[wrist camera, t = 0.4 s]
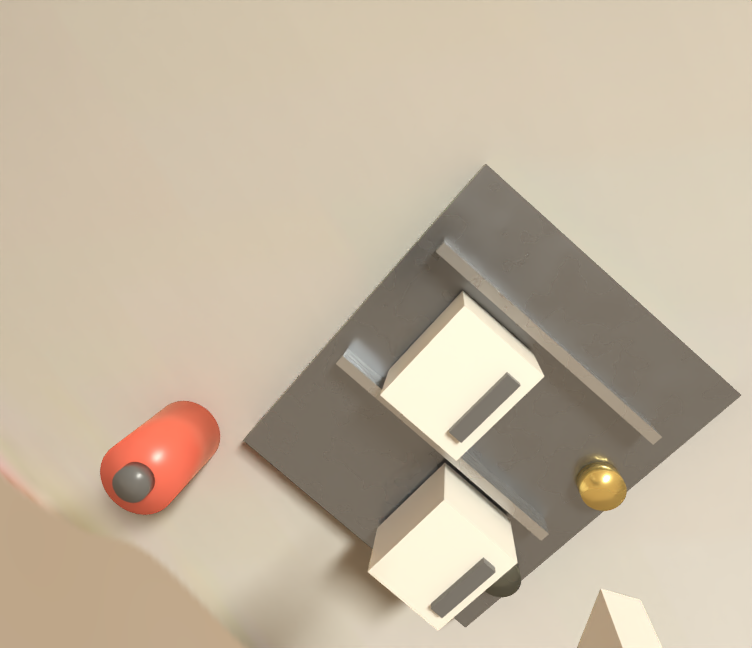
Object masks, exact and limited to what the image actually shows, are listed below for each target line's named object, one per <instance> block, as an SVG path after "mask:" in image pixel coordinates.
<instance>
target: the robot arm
mask: <svg viewBox="0 0 752 648" xmlns="http://www.w3.org/2000/svg"><path fill="white" fill-rule="evenodd" d="M577 648H662V646H661V643H660V641H659V639H658V637H657V635H656V633H655V630H654V628H653V626H652V624H651V622H650V619H649V617H648V615H647V613H646V611H645V609H644V606H643V604H642V602H641V600H639V599H636V598H632V597H629V596H625V595H622V594H618V593H615V592H611V591H608V590H604V589H600V591H599V594H598V596H597V599H596V601H595V604H594V607H593V609H592V612H591V614H590V617H589V619H588V622H587V624H586V627H585V629H584V632H583V634H582V637H581V639H580V642H579V644H578V647H577Z"/></svg>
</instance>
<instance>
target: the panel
mask: <svg viewBox="0 0 752 648" xmlns="http://www.w3.org/2000/svg"><path fill="white" fill-rule="evenodd" d="M462 291H464V292H465V293H466V294H467V295H468V296H470V297H471V298H472V299H473V300H474V301H475V302H476V303H478V304H479V305H480V306H481V307H482V308H483V309H484V310H485V311H487V312H488V313H489V314H490V315H491V316H492V317H493V318H494V319H496V320H497V321H498V322H499V323H500V324H501V325H502V326H503V327H505V328H506V329H507V330H508V331H509V332H510V333H511V334H513V335H514V336H515V337H516V338H517V339H518V340H519V341H520V342H522V343H523V344H524V345H525V346H526V347H527V348H528V349H529V350H531V351H532V352H533V354H534V356H535V358H536V360H537V362H538V364H539V366H540V368H541V370H542V372H543V374H544V377H543V378H542V379H541V380H540V381H539V382H538V383H537V384H536V385H535V386H534V387H533V388H532V389H531V390H530V391H529V392H528V393H527V394H526V395H525V396H524V397H523V398H522V399H520V400H519V401H518V402H517V403H516V404H515V405H514V406H513V407H512V408H511V409H510V410H509V411H508V412H507V413H506V414H505V415H504V416H503V417H502V418H501V419H500V420H499V421H498V422H497V423H495V424H494V425H493V426H492V427H491V428H490V429H489V430H488V431H487V432H486V433H485V434H484V435H483V436H482V437H481V438H480V439H479V440H478V441H477V442H476V443H475V444H474V445H473V446H472V447H470V448H469V449H468V450H467V451H466V452H465V453H464V454H463V455H462V456H461V457H460V458H459V459H458V460H457V461H456V460H455V459H454V458H452V457H451V456H450V455H449V454H448V453H447V452H446V451H444V450H443V449H442V448H441V447H440V446H439V445H437V444H436V443H435V442H434V441H433V440H432V439H430V438H429V437H428V436H427V435H426V434H425V433H423V432H422V431H421V430H420V429H419V428H418V427H417V426H415V425H414V424H413V423H412V422H411V421H410V420H408V419H407V418H406V417H405V416H404V415H403V414H401V413H400V412H399V411H398V410H397V409H396V408H395V407H393V406H392V405H391V404H390V403H389V402H388V401H386V400H385V399H384V398H383V397H382V396H381V395H380V394H381V391H382V388H383V385H384V382H385V380H386V377H387V374H388V371H389V369H390V368H391V367H392V366H393V365H394V364H395V363H396V362H397V361H398V359H399V358H400V357H401V356H402V355H403V354H404V353H405V352H406V351H407V350H408V349H409V348H410V347H411V346H412V344H413V343H414V342H415V341H416V340H417V339H418V338H419V337H420V336H421V335H422V334H423V333H424V332H425V331H426V329H427V328H428V327H429V326H430V325H431V324H432V323H433V322H434V321H435V320H436V319H437V318H438V317H439V316H440V314H441V313H442V312H443V311H444V310H445V309H446V308H447V307H448V306H449V305H450V304H451V303H452V302H453V301H454V299H455V298H456V297H457V296H458V295H459V294H460V293H461V292H462ZM740 396H741V394H740V393H738V392H737V391H736V390H735V389H734V388H733V387H732V386H731V385H730V384H729V383H727V382H726V381H725V380H724V379H723V378H722V377H721V376H720V375H719V374H717V373H716V372H715V371H714V370H713V369H712V368H711V367H710V366H709V365H708V364H706V363H705V362H704V361H703V360H702V359H701V358H700V357H699V356H698V355H696V354H695V353H694V352H693V351H692V350H691V349H690V348H689V347H688V346H687V345H685V344H684V343H683V342H682V341H681V340H680V339H679V338H678V337H677V336H675V335H674V334H673V333H672V332H671V331H670V330H669V329H668V328H667V327H666V326H664V325H663V324H662V323H661V322H660V321H659V320H658V319H657V318H656V317H654V316H653V315H652V314H651V313H650V312H649V311H648V310H647V309H646V308H645V307H643V306H642V305H641V304H640V303H639V302H638V301H637V300H636V299H635V298H634V297H632V296H631V295H630V294H629V293H628V292H627V291H626V290H625V289H624V288H622V287H621V286H620V285H619V284H618V283H617V282H616V281H615V280H614V279H613V278H611V277H610V276H609V275H608V274H607V273H606V272H605V271H604V270H603V269H601V268H600V267H599V266H598V265H597V264H596V263H595V262H594V261H593V260H592V259H590V258H589V257H588V256H587V255H586V254H585V253H584V252H583V251H582V250H580V249H579V248H578V247H577V246H576V245H575V244H574V243H573V242H572V241H571V240H569V239H568V238H567V237H566V236H565V235H564V234H563V233H562V232H561V231H559V230H558V229H557V228H556V227H555V226H554V225H553V224H552V223H551V222H550V221H548V220H547V219H546V218H545V217H544V216H543V215H542V214H541V213H540V212H539V211H537V210H536V209H535V208H534V207H533V206H532V205H531V204H530V203H529V202H527V201H526V200H525V199H524V198H523V197H522V196H521V195H520V194H519V193H518V192H516V191H515V190H514V189H513V188H512V187H511V186H510V185H509V184H508V183H506V182H505V181H504V180H503V179H502V178H501V177H500V176H499V175H498V174H497V173H495V172H494V171H493V170H492V169H491V168H490V167H489V166H488V165H487V164H485V165H484V166H483V167H482V168H481V169H480V170H479V171H478V173H477V174H476V175H475V176H474V177H473V178H472V179H471V181H470V182H469V183H468V184H467V185H466V186H465V187H464V188H463V190H462V191H461V192H460V193H459V194H458V195H457V196H456V198H455V199H454V200H453V201H452V202H451V203H450V204H449V206H448V207H447V208H446V209H445V210H444V211H443V212H442V214H441V215H440V216H439V217H438V218H437V219H436V220H435V222H434V223H433V224H432V225H431V226H430V227H429V228H428V230H427V231H426V232H425V233H424V234H423V235H422V236H421V237H420V239H419V240H418V241H417V242H416V243H415V244H414V245H413V247H412V248H411V249H410V250H409V251H408V252H407V253H406V255H405V256H404V257H403V258H402V259H401V260H400V261H399V263H398V264H397V265H396V266H395V267H394V268H393V269H392V271H391V272H390V273H389V274H388V275H387V276H386V277H385V279H384V280H383V281H382V282H381V283H380V284H379V285H378V286H377V288H376V289H375V290H374V291H373V292H372V293H371V294H370V296H369V297H368V298H367V299H366V300H365V301H364V302H363V304H362V305H361V306H360V307H359V308H358V309H357V310H356V312H355V313H354V314H353V315H352V316H351V317H350V318H349V320H348V321H347V322H346V323H345V324H344V325H343V326H342V328H341V329H340V330H339V331H338V332H337V333H336V334H335V336H334V337H333V338H332V339H331V340H330V341H329V342H328V343H327V345H326V346H325V347H324V348H323V349H322V350H321V351H320V353H319V354H318V355H317V356H316V357H315V358H314V359H313V361H312V362H311V363H310V364H309V365H308V366H307V367H306V369H305V370H304V371H303V372H302V373H301V374H300V375H299V377H298V378H297V379H296V380H295V381H294V382H293V383H292V385H291V386H290V387H289V388H288V389H287V390H286V391H285V392H284V394H283V395H282V396H281V397H280V398H279V399H278V400H277V402H276V403H275V404H274V405H273V406H272V407H271V408H270V410H269V411H268V412H267V413H266V414H265V415H264V416H263V418H262V419H261V420H260V421H259V422H258V423H257V424H256V426H255V427H254V428H253V429H252V430H251V431H250V433H249V434H248V435H247V436H246V437H245V439H244V440H243V441H245V442H246V443H247V444H248V445H249V446H251V447H252V448H253V449H254V450H255V451H256V452H258V453H259V454H260V455H261V456H262V457H264V458H265V459H266V460H267V461H268V462H270V463H271V464H272V465H273V466H274V467H275V468H277V469H278V470H279V471H280V472H281V473H283V474H284V475H285V476H286V477H287V478H289V479H290V480H291V481H292V482H293V483H294V484H296V485H297V486H298V487H299V488H300V489H302V490H303V491H304V492H305V493H306V494H308V495H309V496H310V497H311V498H312V499H313V500H315V501H316V502H317V503H318V504H319V505H321V506H322V507H323V508H324V509H325V510H327V511H328V512H329V513H330V514H331V515H332V516H334V517H335V518H336V519H337V520H338V521H340V522H341V523H342V524H343V525H344V526H346V527H347V528H348V529H349V530H350V531H352V532H353V533H354V534H355V535H356V536H357V537H359V538H360V539H361V540H362V541H363V542H365V543H366V544H367V545H368V546H369V547H371V548H372V549H373V545H374V541H375V536H376V532H377V528H378V527H379V526H380V525H381V524H382V523H383V522H384V521H385V520H386V519H387V518H388V517H389V516H390V515H391V514H392V513H393V512H394V511H395V510H396V509H397V508H398V507H399V506H401V505H402V504H403V503H404V502H405V501H406V500H407V499H408V498H409V497H410V496H411V495H412V494H413V493H414V492H415V491H416V490H417V489H418V488H419V487H420V486H421V485H422V484H423V483H424V482H425V481H426V480H427V479H428V478H429V477H431V476H432V475H433V474H434V473H435V472H436V471H437V470H438V469H439V468H440V467H441V466H442V465H443V464H444V463H446V464H447V465H449V466H450V467H451V468H452V469H453V470H454V471H456V472H457V473H458V474H459V475H460V476H461V477H463V478H464V479H465V480H466V481H467V482H468V483H469V484H471V485H472V486H473V487H474V488H475V489H476V490H478V491H479V492H480V493H481V494H482V495H483V496H485V497H486V498H487V499H488V500H489V501H490V502H492V503H493V504H494V505H495V506H496V507H497V508H499V509H500V510H501V511H502V512H503V513H504V514H505V515H507V516H508V517H509V518H510V522H511V528H512V534H513V539H514V545H515V551H516V556H517V562H518V563H517V564H516V565H514V566H513V567H512V568H511V569H510V570H509V571H507V572H506V573H505V574H504V575H503V576H501V577H500V578H499V579H498V580H497V581H496V582H494V583H493V584H492V585H491V586H490V587H489V588H487V589H486V590H485V591H484V592H483V593H482V594H480V595H479V596H478V597H477V598H476V599H475V600H473V601H472V602H471V603H470V604H469V605H468V606H466V607H465V608H464V609H463V610H462V611H461V612H459V613H458V614H457V615H456V616H455V617H454V618H455V619H456V620H457V621H458V622H460V623H461V624H462V625H463V626H464V627H467V626H468V625H469V624H470V623H471V622H473V621H474V620H475V619H476V618H477V617H478V616H480V615H481V614H482V613H483V612H484V611H486V610H487V609H488V608H489V607H490V606H492V605H493V604H494V603H495V602H496V601H497V600H499V599H500V598H501V597H507V596H510V595H512V594H514V593H515V592H516V591H517V590H518V589H519V587H520V584H521V580H522V579H524V578H525V577H526V576H527V575H528V574H530V573H531V572H532V571H533V570H534V569H536V568H537V567H538V566H539V565H540V564H541V563H543V562H544V561H545V560H546V559H547V558H549V557H550V556H551V555H552V554H553V553H555V552H556V551H557V550H558V549H559V548H560V547H562V546H563V545H564V544H565V543H566V542H568V541H569V540H570V539H571V538H572V537H574V536H575V535H576V534H577V533H578V532H579V531H581V530H582V529H583V528H584V527H585V526H587V525H588V524H589V523H590V522H591V521H593V520H594V519H595V518H596V517H597V516H598V515H600V514H601V513H602V512H603V511H607V510H612V509H614V508H616V507H618V506H619V505H620V504H621V503H622V502H623V501H624V499H625V497H626V492H627V491H628V490H629V489H631V488H632V487H633V486H634V485H635V484H637V483H638V482H639V481H640V480H641V479H642V478H644V477H645V476H646V475H647V474H648V473H650V472H651V471H652V470H653V469H654V468H656V467H657V466H658V465H659V464H660V463H661V462H663V461H664V460H665V459H666V458H667V457H669V456H670V455H671V454H672V453H673V452H675V451H676V450H677V449H678V448H679V447H680V446H682V445H683V444H684V443H685V442H686V441H688V440H689V439H690V438H691V437H692V436H694V435H695V434H696V433H697V432H698V431H699V430H701V429H702V428H703V427H704V426H705V425H707V424H708V423H709V422H710V421H711V420H713V419H714V418H715V417H716V416H717V415H719V414H720V413H721V412H722V411H723V410H724V409H726V408H727V407H728V406H729V405H730V404H732V403H733V402H734V401H735V400H736V399H738V398H739V397H740Z"/></svg>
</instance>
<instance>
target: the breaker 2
mask: <svg viewBox="0 0 752 648" xmlns="http://www.w3.org/2000/svg"><path fill="white" fill-rule="evenodd" d="M517 563H518V562H517V556H516V551H515V545H514V539H513V534H512V528H511V522H510V518H509V517H508V516H507V515H505V514H504V513H503V512H502V511H501V510H500V509H499V508H497V507H496V506H495V505H494V504H493V503H492V502H490V501H489V500H488V499H487V498H486V497H485V496H483V495H482V494H481V493H480V492H479V491H478V490H476V489H475V488H474V487H473V486H472V485H471V484H469V483H468V482H467V481H466V480H465V479H464V478H463V477H461V476H460V475H459V474H458V473H457V472H456V471H454V470H453V469H452V468H451V467H450V466H449V465H447V464H446V463H444V464H443V465H442V466H441V467H440V468H439V469H438V470H437V471H436V472H435V473H434V474H433V475H432V476H431V477H429V478H428V479H427V480H426V481H425V482H424V483H423V484H422V485H421V486H420V487H419V488H418V489H417V490H416V491H415V492H414V493H413V494H412V495H411V496H410V497H409V498H408V499H407V500H406V501H405V502H404V503H403V504H402V505H401V506H399V507H398V508H397V509H396V510H395V511H394V512H393V513H392V514H391V515H390V516H389V517H388V518H387V519H386V520H385V521H384V522H383V523H382V524H381V525H380V526H379V527H378V528H377V532H376V536H375V541H374V545H373V550H372V554H371V559H370V563H369V568H368V573H370V574H371V575H372V576H373V577H374V578H376V579H377V580H378V581H379V582H380V583H381V584H383V585H384V586H385V587H386V588H387V589H389V590H390V591H391V592H392V593H393V594H395V595H396V596H397V597H398V598H399V599H401V600H402V601H403V602H404V603H405V604H407V605H408V606H409V607H410V608H411V609H412V610H414V611H415V612H416V613H417V614H418V615H420V616H421V617H422V618H423V619H424V620H426V621H427V622H428V623H429V624H430V625H432V626H433V627H434V628H435V629H436V630H440V629H441V628H442V627H443V626H444V625H445V624H447V623H448V622H449V621H450V620H451V619H452V618H454V617H455V616H456V615H457V614H458V613H459V612H461V611H462V610H463V609H464V608H465V607H466V606H468V605H469V604H470V603H471V602H472V601H473V600H475V599H476V598H477V597H478V596H479V595H480V594H482V593H483V592H484V591H485V590H486V589H487V588H489V587H490V586H491V585H492V584H493V583H494V582H496V581H497V580H498V579H499V578H500V577H501V576H503V575H504V574H505V573H506V572H507V571H509V570H510V569H511V568H512V567H513V566H514V565H516V564H517Z"/></svg>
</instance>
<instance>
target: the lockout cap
mask: <svg viewBox="0 0 752 648" xmlns="http://www.w3.org/2000/svg"><path fill="white" fill-rule="evenodd" d="M219 443H220V431H219V427H218V424H217V422H216V420H215V418H214V417H213V416H212V414H211V413H210V412H209V411H208V410H207V409H205V408H204V407H202V406H201V405H199V404H196V403H193V402H189V401H178V402H174V403H171V404H169V405H168V406H166V407H165V408H164V409H162V410H161V411H160V412H158V413H157V414H156V415H154V416H153V417H152V418H150V419H149V420H148V421H146V422H145V423H144V424H142V425H141V426H140V427H138V428H137V429H136V430H135V431H133V432H132V433H131V434H129V435H128V436H127V437H125V438H124V439H123V440H121V441H120V442H119V443H117V444H116V445H115V446H113V447H112V448H111V449H110V450H109V451H108V452H107V453H106V454H105V456H104V458H103V460H102V463H101V468H100V475H101V480H102V484H103V486H104V489H105V491H106V492H107V494H108V495H109V497H110V498H111V499H112V500H113V501H114V502H115V503H116V504H117V505H119V506H120V507H122V508H123V509H125V510H127V511H129V512H132V513H136V514H143V515H146V514H154V513H157V512H159V511H161V510H163V509H164V508H166V507H167V506H168V505H169V504H170V503H171V501H172V500H173V499H174V498H175V497H176V496H177V495H178V494H179V493H180V491H181V490H182V489H183V488H184V487H185V486H186V485H187V484H188V483H189V481H190V480H191V479H192V478H193V477H194V476H195V475H196V474H197V473H198V471H199V470H200V469H201V468H202V467H203V466H204V465H205V464H206V463H207V461H208V460H209V459H210V458H211V457H212V456H213V455H214V453H215V452H216V451H217V449H218V446H219Z"/></svg>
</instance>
